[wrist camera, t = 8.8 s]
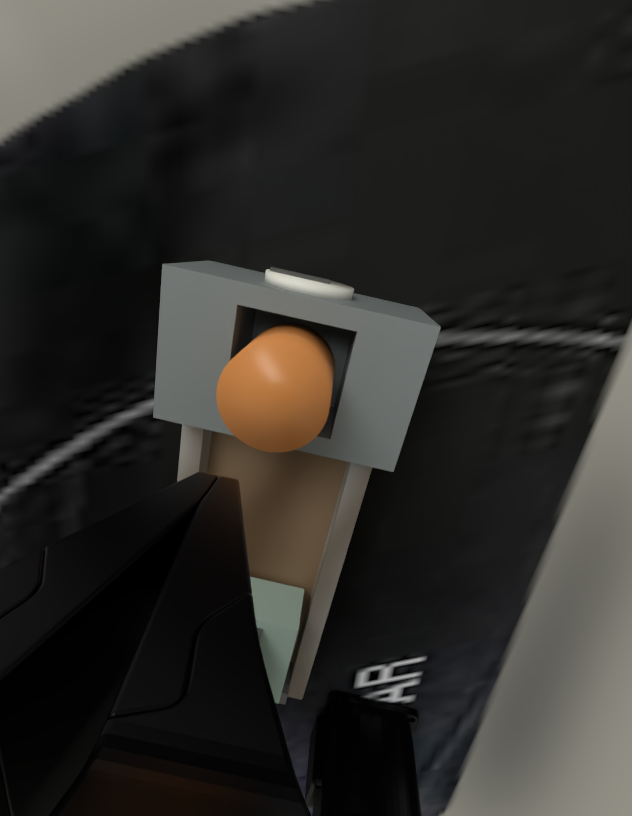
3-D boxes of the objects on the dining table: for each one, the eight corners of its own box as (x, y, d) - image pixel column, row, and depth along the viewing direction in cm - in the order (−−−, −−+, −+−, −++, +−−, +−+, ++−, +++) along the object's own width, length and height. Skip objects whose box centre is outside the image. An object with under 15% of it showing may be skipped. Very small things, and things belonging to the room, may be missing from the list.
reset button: (344, 333, 16) (341, 359, 12) (324, 416, 17) (316, 463, 13) (254, 313, 16) (223, 332, 12) (241, 397, 17) (210, 439, 13)
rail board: (375, 420, 21) (379, 452, 18) (307, 654, 28) (301, 708, 24) (206, 382, 21) (180, 406, 18) (179, 625, 28) (156, 675, 24)
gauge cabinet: (422, 296, 19) (446, 311, 14) (384, 422, 21) (393, 472, 16) (210, 248, 19) (163, 247, 14) (197, 380, 21) (153, 417, 16)
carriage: (304, 588, 23) (284, 725, 17) (285, 659, 25) (262, 804, 19) (202, 565, 23) (142, 693, 17) (193, 637, 25) (136, 775, 19)
